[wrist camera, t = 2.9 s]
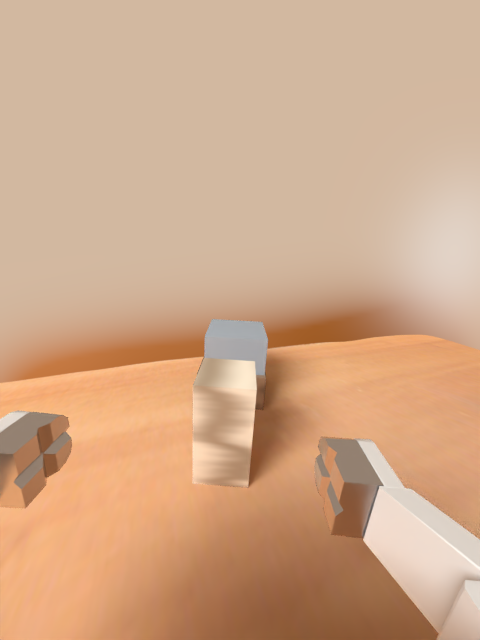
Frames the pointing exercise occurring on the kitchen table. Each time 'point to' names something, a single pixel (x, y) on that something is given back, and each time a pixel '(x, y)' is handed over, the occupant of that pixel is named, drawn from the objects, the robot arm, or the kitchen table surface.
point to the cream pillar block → (223, 422)
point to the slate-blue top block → (237, 342)
